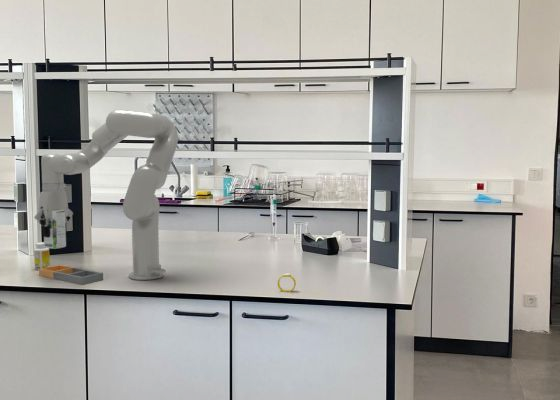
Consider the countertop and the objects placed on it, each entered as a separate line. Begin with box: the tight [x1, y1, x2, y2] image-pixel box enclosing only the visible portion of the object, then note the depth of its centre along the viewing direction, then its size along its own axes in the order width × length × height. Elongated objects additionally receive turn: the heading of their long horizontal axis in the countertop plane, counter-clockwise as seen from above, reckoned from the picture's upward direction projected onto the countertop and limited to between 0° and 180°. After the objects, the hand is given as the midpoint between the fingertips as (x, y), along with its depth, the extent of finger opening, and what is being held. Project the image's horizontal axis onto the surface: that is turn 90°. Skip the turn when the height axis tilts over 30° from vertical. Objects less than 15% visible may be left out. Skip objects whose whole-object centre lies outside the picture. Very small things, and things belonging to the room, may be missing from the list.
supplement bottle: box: [33, 241, 51, 271], centre depth 243 cm, size 6×6×10 cm
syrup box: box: [43, 209, 67, 250], centre depth 231 cm, size 6×6×14 cm
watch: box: [277, 272, 297, 293], centre depth 207 cm, size 6×3×6 cm, turn 79°
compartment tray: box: [38, 264, 104, 285], centre depth 228 cm, size 26×9×2 cm, turn 54°
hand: (54, 235), depth 231 cm, fingers closed on syrup box, 6 cm apart
